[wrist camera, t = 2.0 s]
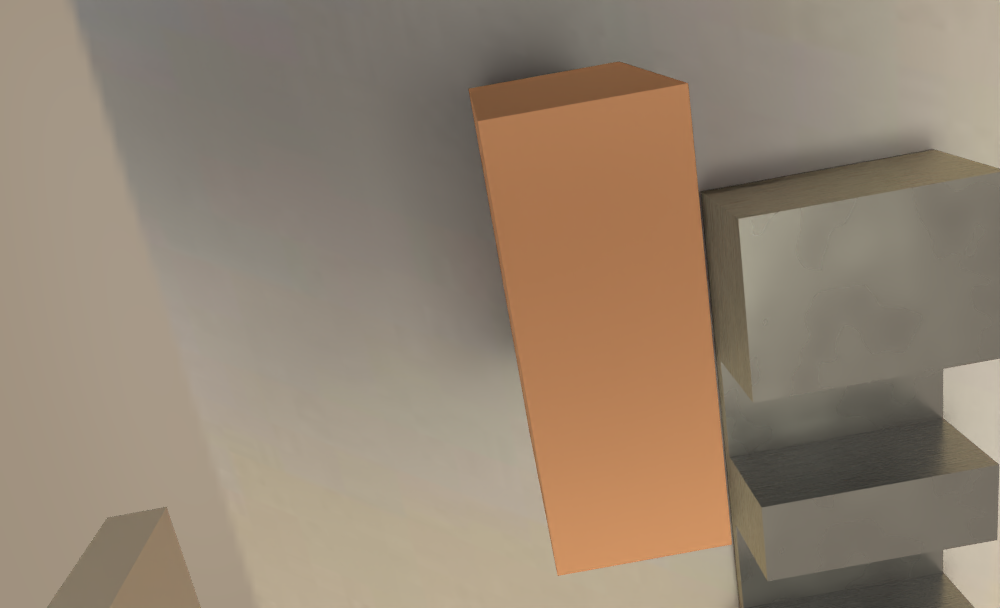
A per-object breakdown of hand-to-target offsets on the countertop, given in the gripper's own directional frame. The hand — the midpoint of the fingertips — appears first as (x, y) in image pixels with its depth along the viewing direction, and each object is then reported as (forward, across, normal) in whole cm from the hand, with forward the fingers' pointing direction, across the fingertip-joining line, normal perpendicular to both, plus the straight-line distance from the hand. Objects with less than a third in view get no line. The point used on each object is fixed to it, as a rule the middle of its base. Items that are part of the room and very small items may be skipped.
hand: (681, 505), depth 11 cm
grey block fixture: (+15, +8, -10) cm, 20 cm away
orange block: (+15, 0, 0) cm, 15 cm away
